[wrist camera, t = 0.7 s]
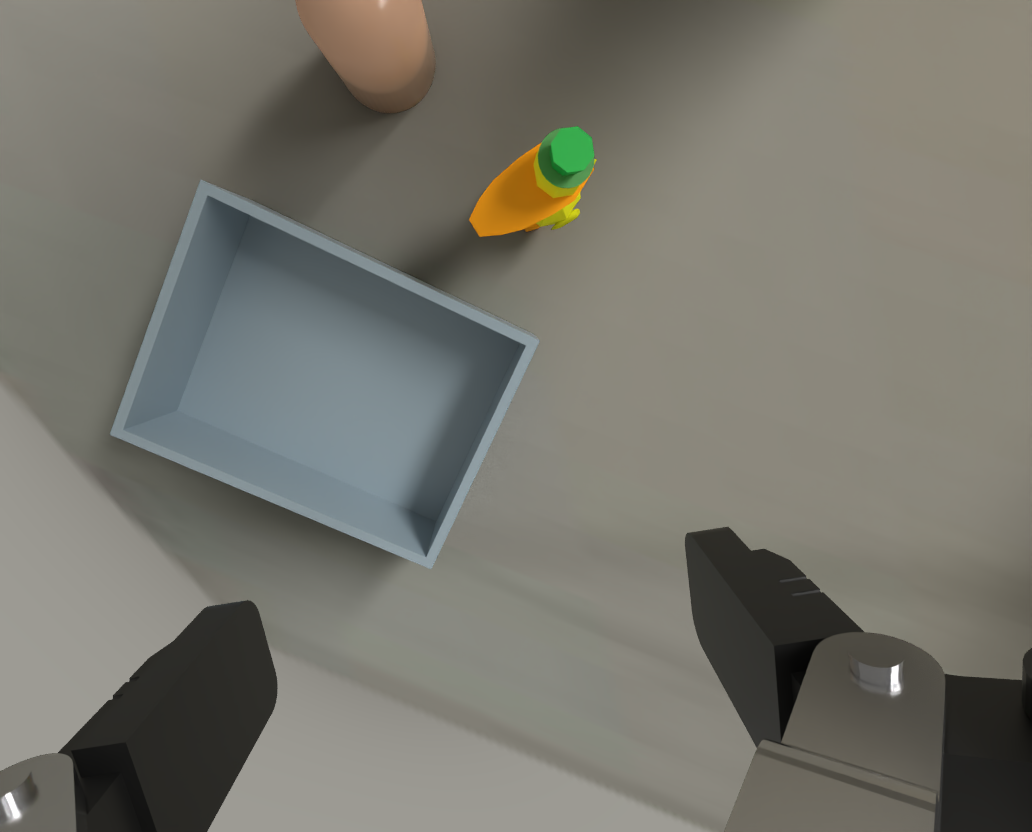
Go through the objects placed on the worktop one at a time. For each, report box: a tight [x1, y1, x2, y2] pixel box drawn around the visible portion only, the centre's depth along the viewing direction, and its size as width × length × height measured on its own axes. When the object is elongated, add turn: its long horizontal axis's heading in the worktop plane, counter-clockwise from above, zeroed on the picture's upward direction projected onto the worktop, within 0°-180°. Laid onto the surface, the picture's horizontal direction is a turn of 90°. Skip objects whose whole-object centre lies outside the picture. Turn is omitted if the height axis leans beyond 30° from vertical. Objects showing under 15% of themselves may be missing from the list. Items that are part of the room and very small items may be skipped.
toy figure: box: [469, 126, 597, 237], centre depth 27 cm, size 7×4×12 cm, turn 123°
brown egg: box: [295, 0, 436, 113], centre depth 28 cm, size 5×5×7 cm
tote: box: [110, 180, 540, 569], centre depth 32 cm, size 13×17×6 cm
